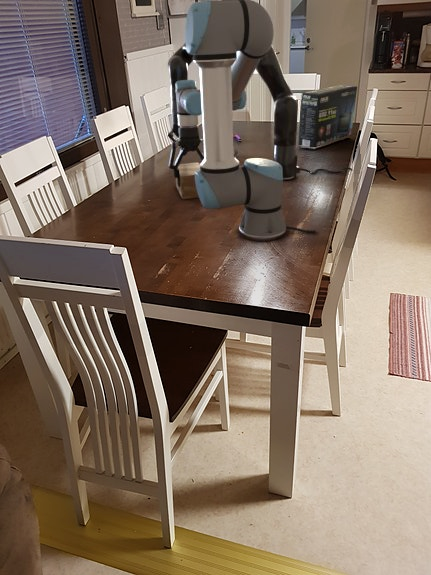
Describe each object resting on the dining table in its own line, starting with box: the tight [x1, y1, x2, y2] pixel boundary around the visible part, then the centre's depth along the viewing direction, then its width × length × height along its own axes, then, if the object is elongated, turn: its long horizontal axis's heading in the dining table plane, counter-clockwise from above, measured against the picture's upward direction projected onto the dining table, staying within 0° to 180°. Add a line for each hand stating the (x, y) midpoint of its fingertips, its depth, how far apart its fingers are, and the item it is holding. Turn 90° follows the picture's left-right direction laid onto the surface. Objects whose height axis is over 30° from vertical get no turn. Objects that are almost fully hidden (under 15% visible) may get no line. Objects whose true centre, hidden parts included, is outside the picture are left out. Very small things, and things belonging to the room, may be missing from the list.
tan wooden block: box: [175, 162, 200, 200], centre depth 184 cm, size 16×10×9 cm, turn 13°
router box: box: [297, 84, 358, 151], centre depth 238 cm, size 36×11×27 cm, turn 134°
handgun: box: [233, 134, 243, 143], centre depth 259 cm, size 21×8×2 cm, turn 11°
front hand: (192, 184), depth 181 cm, fingers closed on tan wooden block, 10 cm apart
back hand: (183, 155), depth 192 cm, fingers closed
